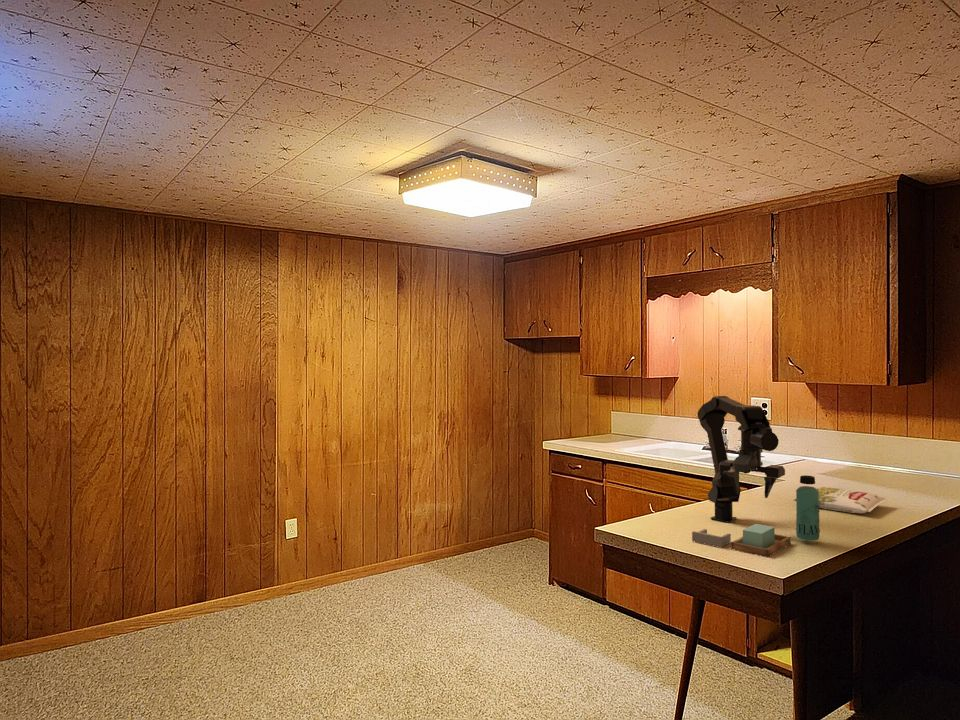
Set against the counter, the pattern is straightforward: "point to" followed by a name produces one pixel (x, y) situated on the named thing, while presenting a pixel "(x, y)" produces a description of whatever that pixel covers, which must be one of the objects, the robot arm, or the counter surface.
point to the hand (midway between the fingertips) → (751, 495)
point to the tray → (779, 544)
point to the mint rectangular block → (759, 536)
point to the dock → (710, 538)
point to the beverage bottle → (807, 510)
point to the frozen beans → (847, 500)
